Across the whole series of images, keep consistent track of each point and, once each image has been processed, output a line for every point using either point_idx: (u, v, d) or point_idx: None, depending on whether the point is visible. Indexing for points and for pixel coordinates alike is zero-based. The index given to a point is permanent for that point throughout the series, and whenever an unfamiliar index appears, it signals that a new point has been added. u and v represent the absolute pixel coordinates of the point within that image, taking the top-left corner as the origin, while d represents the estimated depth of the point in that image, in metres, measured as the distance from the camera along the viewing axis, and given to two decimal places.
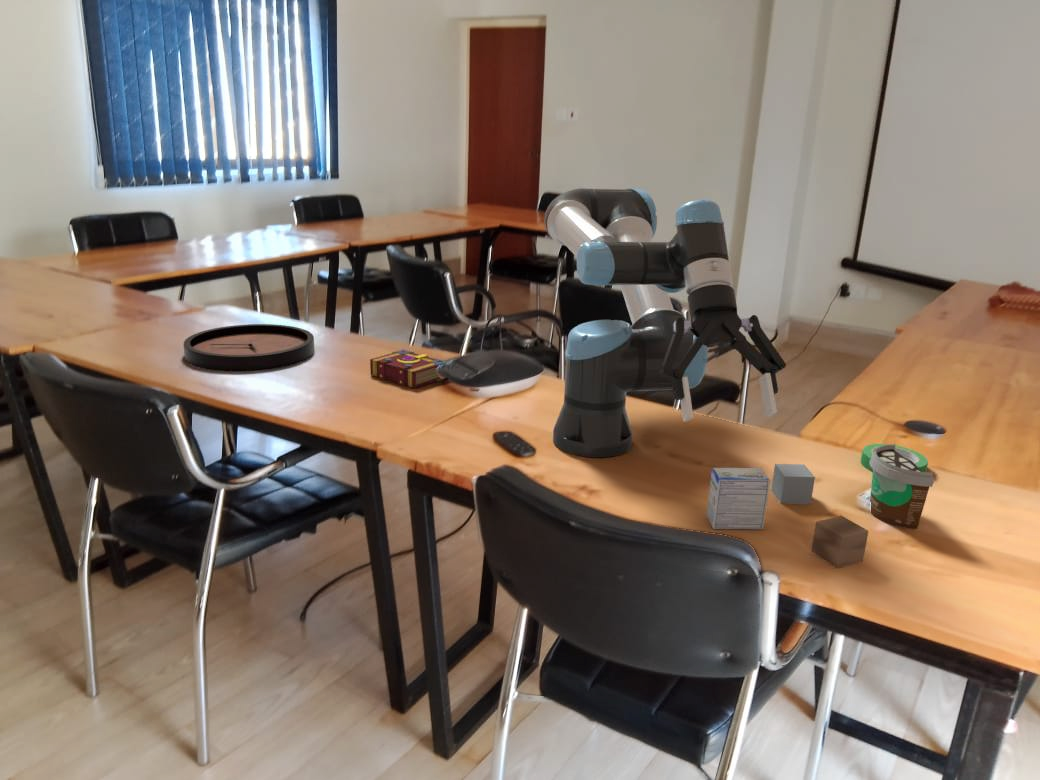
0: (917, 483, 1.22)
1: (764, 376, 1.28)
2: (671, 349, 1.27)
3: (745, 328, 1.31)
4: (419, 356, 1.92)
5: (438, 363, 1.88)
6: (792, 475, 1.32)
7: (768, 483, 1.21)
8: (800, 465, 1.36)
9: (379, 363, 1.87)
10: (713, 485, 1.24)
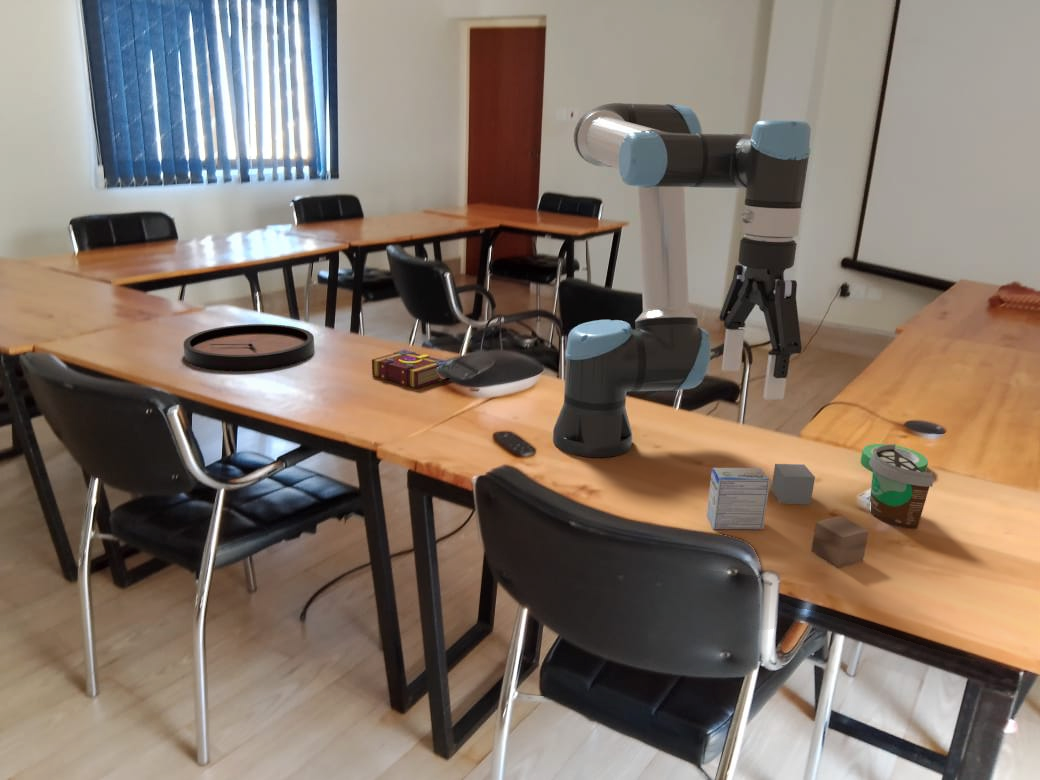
0: (917, 483, 1.22)
1: None
2: (726, 297, 1.22)
3: None
4: (421, 356, 1.92)
5: (440, 363, 1.88)
6: (792, 475, 1.32)
7: (768, 483, 1.21)
8: (800, 465, 1.36)
9: (381, 363, 1.87)
10: (713, 485, 1.24)
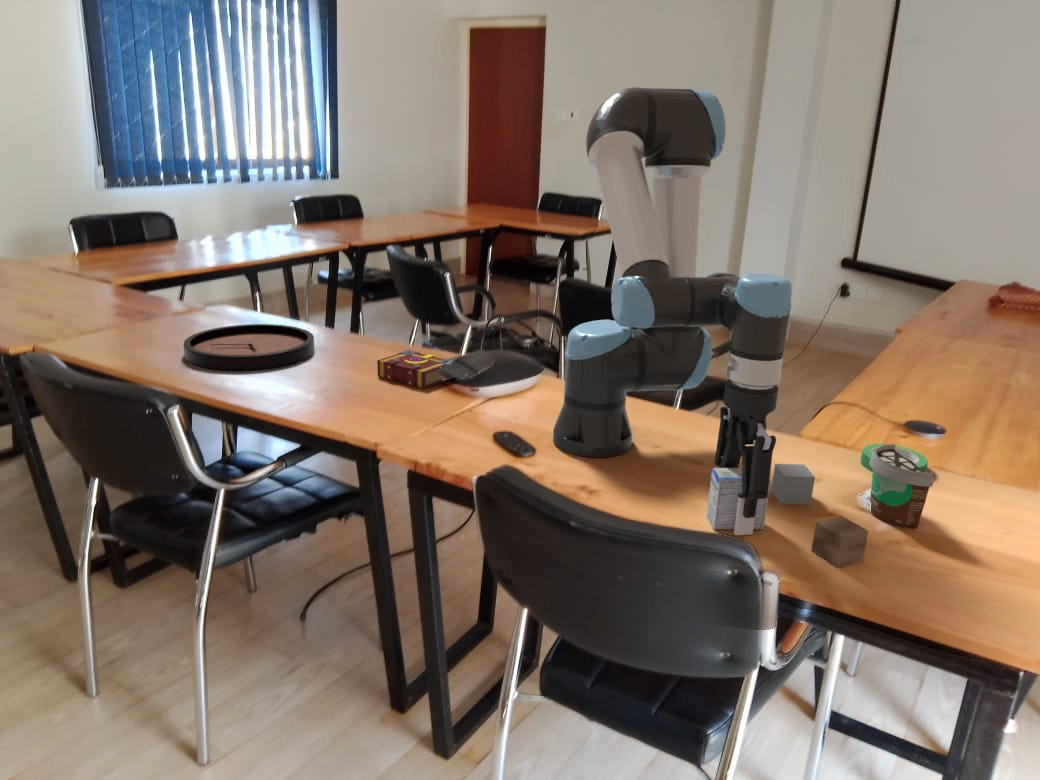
0: (917, 483, 1.22)
1: None
2: (718, 441, 1.27)
3: None
4: (426, 356, 1.92)
5: None
6: (792, 475, 1.32)
7: None
8: (800, 465, 1.36)
9: (387, 364, 1.87)
10: (713, 485, 1.24)
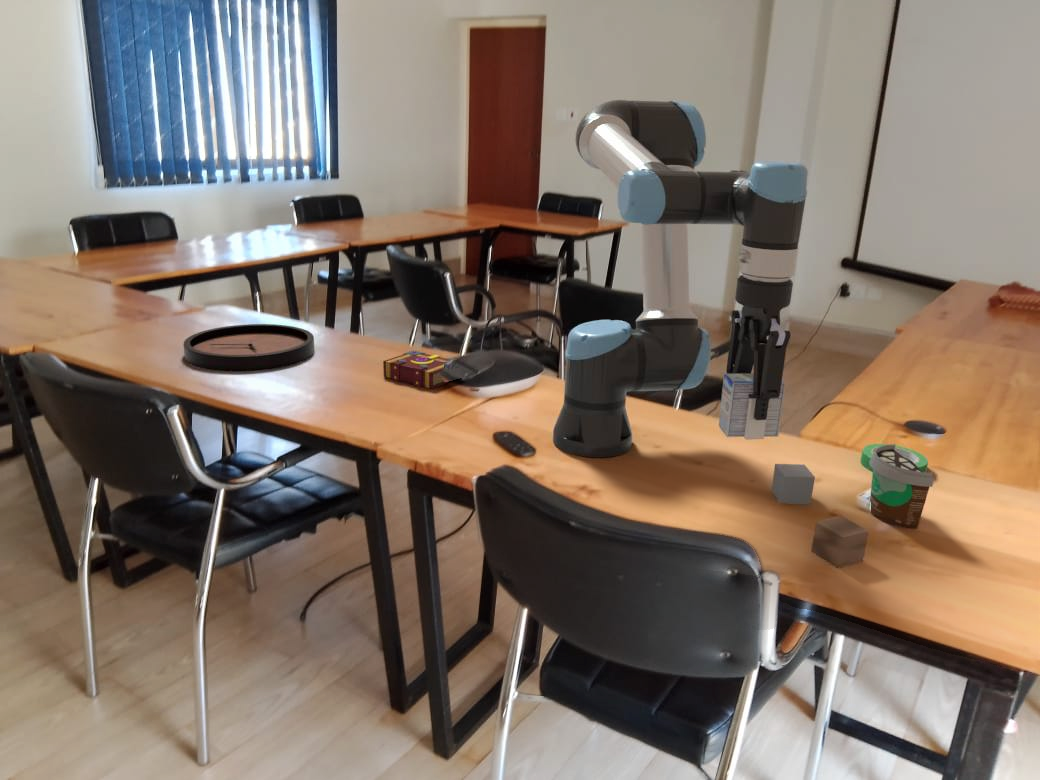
0: (917, 483, 1.22)
1: None
2: (729, 347, 1.22)
3: None
4: (432, 357, 1.92)
5: None
6: (792, 475, 1.32)
7: (784, 386, 1.16)
8: (800, 465, 1.36)
9: (393, 365, 1.87)
10: (726, 391, 1.18)
